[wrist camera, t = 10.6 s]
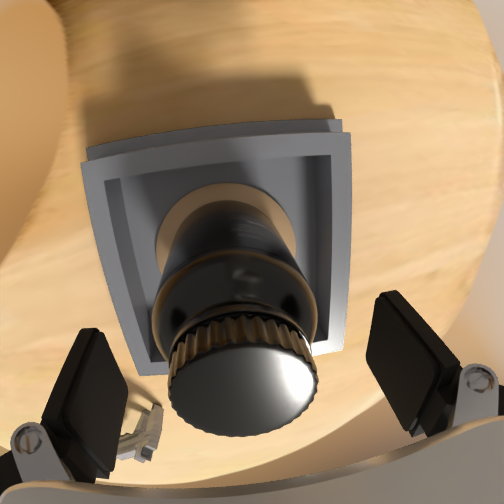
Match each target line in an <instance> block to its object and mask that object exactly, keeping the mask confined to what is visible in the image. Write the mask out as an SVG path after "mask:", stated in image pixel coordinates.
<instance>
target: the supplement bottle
mask: <svg viewBox="0 0 504 504" xmlns="http://www.w3.org/2000/svg"><path fill="white" fill-rule="evenodd" d="M317 321H318V313H317V305H316V301H315V298H314V295H313V293H312V290H311V288H310V286H309V284H308V282H307V280H306V278H305V277H304V275H303V273H302V271H301V270H300V268H299V266H298V264H297V263H296V261H295V259H294V257H293V256H292V254H291V252H290V250H289V249H288V247H287V245H286V244H285V242H284V240H283V238H282V237H281V235H280V233H279V232H278V230H277V228H276V227H275V225H274V224H273V222H272V221H271V220H270V219H269V218H268V217H267V216H266V215H265V214H264V213H263V212H262V211H260V210H259V209H257V208H256V207H254V206H252V205H250V204H247V203H244V202H240V201H235V200H221V201H215V202H211V203H208V204H205V205H203V206H201V207H199V208H197V209H196V210H194V211H193V212H192V213H191V214H189V215H188V216H187V217H186V218H185V220H184V221H183V222H182V223H181V225H180V226H179V228H178V230H177V232H176V234H175V237H174V239H173V242H172V245H171V248H170V251H169V254H168V258H167V261H166V264H165V267H164V270H163V274H162V277H161V280H160V283H159V287H158V290H157V294H156V297H155V301H154V305H153V311H152V331H153V336H154V339H155V342H156V345H157V347H158V349H159V351H160V353H161V355H162V356H163V358H164V359H165V360H166V362H167V363H168V365H169V376H168V397H169V399H170V401H171V406H172V408H173V409H174V410H175V411H177V415H178V416H179V417H181V418H183V419H184V421H185V422H186V423H188V424H191V425H192V426H193V427H195V428H197V429H201V430H203V431H204V432H206V433H213V434H215V435H218V436H228V437H236V436H238V437H246V436H256V435H259V434H262V433H269V432H271V431H272V430H276V429H280V428H281V427H283V426H284V425H286V424H289V423H291V422H292V421H293V420H294V419H296V418H298V417H300V415H301V414H302V412H304V411H305V410H307V409H308V406H309V404H310V403H311V402H312V401H313V400H314V395H315V394H316V392H317V384H318V382H319V379H318V376H317V368H316V365H315V363H314V360H313V358H312V351H311V345H312V342H313V339H314V337H315V333H316V329H317Z"/></svg>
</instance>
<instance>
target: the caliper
mask: <svg viewBox="0 0 504 504" xmlns="http://www.w3.org/2000/svg"><path fill="white" fill-rule="evenodd" d="M163 412H164V409H163V408H161V407H160V406H158V405H156V404H153V405H152V409H151V412H150V411H148V410H146V409H145V410H144V411H143V412H142V414H141V417H140V419H139V421H138V424H137V426H136V428H135V430H134V433H133V434H129V433H126V434H124V435H120V438H119V444H118V449H117V455H116V459H117V458H118V459H120V460H125V459H129V458H133V457H134V459H135V460H137V461H139V462H142V463H144V462H145V460H148V461H150V462H151V458H152V453H153V451H154V450H157V446H158V442H159V439H160V435H161V431H162V422H163Z"/></svg>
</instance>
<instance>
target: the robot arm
mask: <svg viewBox="0 0 504 504" xmlns="http://www.w3.org/2000/svg"><path fill="white" fill-rule="evenodd" d="M366 361H367V364H368V366H369V367H370V369H371V371H372V373H373V375H374V376H375V378H376V380H377V382H378V383H379V385H380V387H381V389H382V391H383V392H384V394H385V396H386V398H387V400H388V401H389V403H390V405H391V407H392V409H393V411H394V412H395V414H396V416H397V418H398V420H399V422H400V424H401V426H402V427H403V429H404V430H405V431H409V433H410V434H411V437H414V436H417V435H420V434H422V433H424V432H425V434H426V436H427V437H428V438H426V439H424V440H421V441H419V442H416V443H413V444H410V445H408V446H405V447H402V448H399V449H397V450H394V451H391V452H388V453H386V454H382V455H380V456H376V457H373V458H370V459H367V460H364V461H361V462H357V463H354V464H350V465H347V466H343V467H339V468H335V469H331V470H327V471H323V472H318V473H314V474H310V475H305V476H300V477H294V478H289V479H283V480H277V481H270V482H264V483H256V484H248V485H239V486H227V487H212V488H189V489H162V488H161V489H160V488H138V487H123V486H110V485H101V484H94V483H95V480H96V478H103V479H109V475H110V472H112V471H113V470H114V468H115V462H116V455H117V449H118V444H119V438H120V433H121V427H122V422H123V417H124V412H125V407H126V402H127V397H128V387H127V384H126V382H125V380H124V378H123V376H122V374H121V371H120V369H119V367H118V365H117V363H116V360H115V358H114V356H113V354H112V351H111V349H110V347H109V344H108V342H107V340H106V337H105V335H104V333H103V332H100V331H99V330H98V329H97V328H83V329H81V330H80V331H79V333H78V335H77V337H76V340H75V342H74V344H73V346H72V348H71V350H70V352H69V354H68V356H67V358H66V361H65V363H64V365H63V367H62V369H61V372H60V374H59V376H58V378H57V381H56V383H55V385H54V388H53V390H52V392H51V395H50V397H49V400H48V402H47V405H46V407H45V410H44V412H43V415H42V417H41V418H42V420H41V423H40V424H39V423H35V422H28V423H25V424H22V425H21V426H19V427H18V428H17V429H16V430H15V431H14V433H13V435H12V437H11V441H10V445H11V450H10V451H9V452H7V453H5V454H4V455H2V456H0V504H504V386H502V385H499V383H498V378H497V376H496V374H495V373H494V372H493V370H492V369H490V368H489V367H487V366H485V365H482V364H470V365H467V366H466V367H464V368H462V367H461V366H460V361H459V360H458V359H457V358H456V357H455V355H454V354H453V353H452V352H451V351H450V349H449V348H448V347H447V346H446V345H445V343H444V342H443V341H442V340H441V339H440V338H439V336H438V335H437V334H436V333H435V332H434V331H433V330H432V328H431V327H430V326H429V325H428V324H427V323H426V322H425V320H424V319H423V318H422V317H421V316H420V315H419V314H418V313H417V311H416V310H415V309H414V308H413V307H412V306H411V305H410V304H409V303H408V302H407V300H406V299H405V298H404V297H403V296H402V295H401V294H400V293H399V292H398V291H397V290H393V291H388V292H382V293H381V294H380V295H379V297H378V298H376V300H375V305H374V312H373V318H372V324H371V330H370V335H369V341H368V346H367V351H366Z"/></svg>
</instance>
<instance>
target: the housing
mask: <svg viewBox="0 0 504 504" xmlns="http://www.w3.org/2000/svg"><path fill="white" fill-rule="evenodd" d="M86 150H87V158H88V161H86V162H83V163H81V170H82V176H83V182H84V188H85V193H86V198H87V204H88V209H89V213H90V218H91V223H92V227H93V232H94V236H95V240H96V244H97V248H98V252H99V256H100V260H101V264H102V267H103V271H104V275H105V278H106V282H107V285H108V289H109V292H110V295H111V298H112V302H113V305H114V308H115V311H116V314H117V317H118V320H119V323H120V326H121V329H122V332H123V335H124V337H125V340H126V343H127V346H128V348H129V351H130V354H131V356H132V359H133V361H134V364H135V367H136V369H137V372H138V374H139V376H150V375H167V374H169V365H168V363H167V362H166V360H165V359H164V358H163V356H162V355H161V353H160V351H159V349H158V347H157V345H156V342H155V339H154V336H153V331H152V311H153V305H154V301H155V297H156V294H157V290H158V287H159V283H160V280H161V277H162V274H163V270H164V267H165V264H166V261H167V258H168V254H169V251H170V248H171V245H172V242H173V239H174V237H175V234H176V232H177V230H178V228H179V226H180V225H181V223H182V222H183V221H184V220H185V218H186V217H187V216H188V215H189V214H191V213H192V212H193V211H194V210H196V209H197V208H199V207H201V206H203V205H205V204H208V203H211V202H215V201H221V200H235V201H240V202H244V203H247V204H250V205H252V206H254V207H256V208H257V209H259V210H260V211H262V212H263V213H264V214H265V215H266V216H267V217H268V218H269V219H270V220H271V221H272V222H273V224H274V225H275V227H276V228H277V230H278V232H279V233H280V235H281V237H282V238H283V240H284V242H285V244H286V245H287V247H288V249H289V250H290V252H291V254H292V256H293V257H294V259H295V261H296V263H297V264H298V266H299V268H300V270H301V271H302V273H303V275H304V277H305V278H306V280H307V282H308V284H309V286H310V288H311V290H312V293H313V295H314V298H315V301H316V305H317V313H318V321H317V329H316V333H315V337H314V339H313V342H312V345H311V351H312V356H315V355H320V354H325V353H330V352H335V351H340V350H343V345H344V336H345V326H346V315H347V303H348V290H349V274H350V255H351V225H352V163H351V134H350V133H349V132H342V119H304V120H278V121H260V122H247V123H235V124H224V125H215V126H206V127H198V128H190V129H183V130H176V131H169V132H163V133H157V134H151V135H145V136H140V137H134V138H129V139H124V140H119V141H114V142H110V143H105V144H101V145H96V146H92V147H88V148H86Z"/></svg>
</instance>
